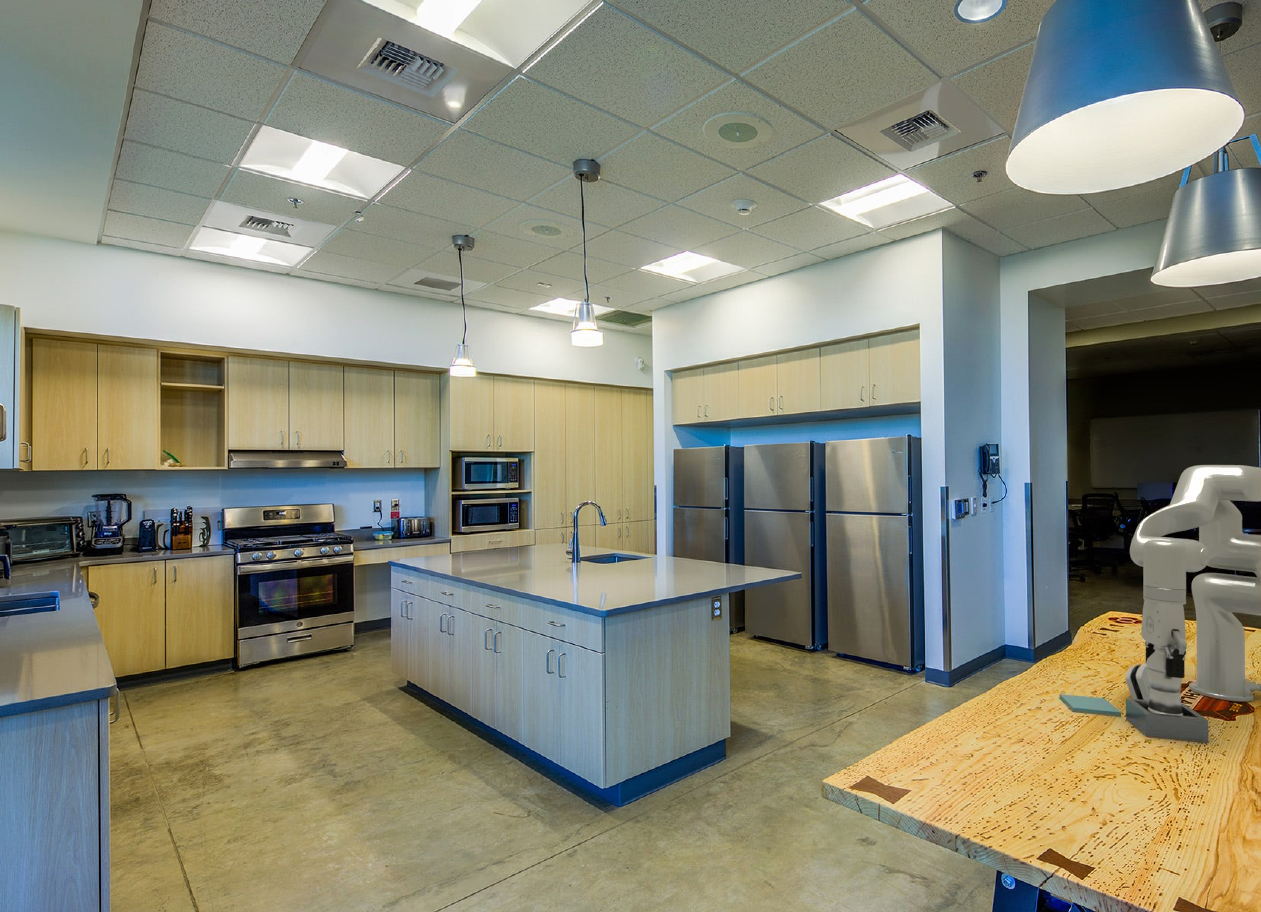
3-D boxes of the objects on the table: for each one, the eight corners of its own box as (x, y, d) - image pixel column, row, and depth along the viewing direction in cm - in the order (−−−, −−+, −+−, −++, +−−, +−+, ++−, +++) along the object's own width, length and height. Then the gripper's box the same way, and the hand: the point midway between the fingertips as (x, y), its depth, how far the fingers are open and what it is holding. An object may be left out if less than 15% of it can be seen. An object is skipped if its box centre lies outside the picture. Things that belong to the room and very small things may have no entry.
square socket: (1183, 725, 152) (1183, 703, 152) (1208, 743, 142) (1208, 720, 142) (1125, 719, 155) (1125, 698, 155) (1146, 736, 145) (1145, 714, 145)
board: (1104, 702, 167) (1104, 698, 167) (1121, 716, 157) (1121, 712, 157) (1059, 698, 170) (1059, 694, 170) (1073, 711, 160) (1073, 707, 160)
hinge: (1159, 711, 160) (1141, 669, 163) (1136, 712, 164) (1120, 671, 167) (1178, 697, 171) (1161, 657, 174) (1156, 698, 174) (1140, 660, 177)
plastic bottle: (1187, 739, 144) (1186, 647, 144) (1148, 732, 148) (1147, 643, 148) (1182, 729, 150) (1181, 641, 150) (1144, 723, 153) (1144, 637, 153)
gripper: (1128, 587, 158) (1128, 659, 158) (1162, 600, 142) (1162, 680, 141) (1165, 590, 156) (1165, 662, 156) (1205, 603, 140) (1205, 684, 139)
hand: (1164, 671), depth 149 cm, fingers open, 9 cm apart
